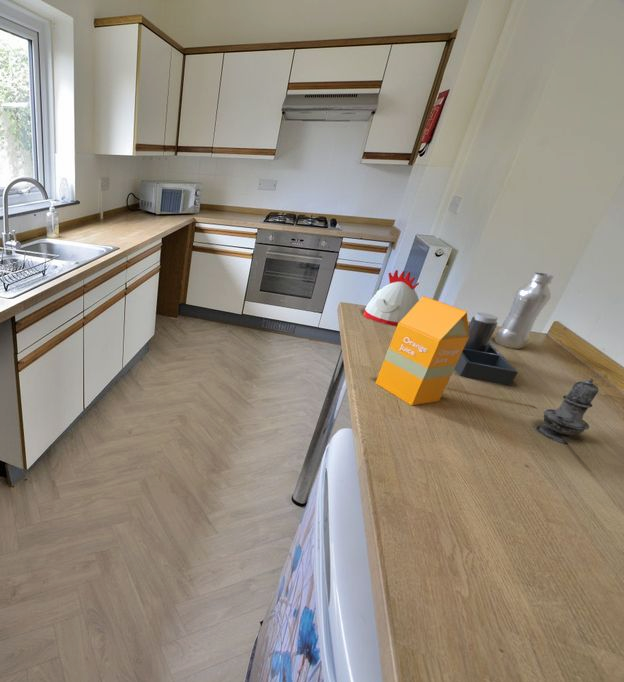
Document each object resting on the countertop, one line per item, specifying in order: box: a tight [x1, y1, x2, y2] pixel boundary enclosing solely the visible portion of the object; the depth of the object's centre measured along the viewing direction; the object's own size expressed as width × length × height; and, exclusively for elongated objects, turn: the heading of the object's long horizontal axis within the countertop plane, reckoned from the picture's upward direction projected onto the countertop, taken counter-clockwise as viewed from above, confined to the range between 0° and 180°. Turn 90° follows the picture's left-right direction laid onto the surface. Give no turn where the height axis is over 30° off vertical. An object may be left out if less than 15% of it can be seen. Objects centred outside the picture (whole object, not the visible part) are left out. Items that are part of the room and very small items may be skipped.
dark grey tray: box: [454, 341, 519, 387], centre depth 98 cm, size 9×17×4 cm, turn 156°
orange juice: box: [375, 295, 469, 406], centre depth 82 cm, size 8×9×20 cm
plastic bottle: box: [494, 272, 554, 350], centre depth 106 cm, size 6×7×20 cm
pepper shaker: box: [464, 312, 499, 352], centre depth 99 cm, size 5×5×11 cm
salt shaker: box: [536, 378, 599, 445], centre depth 72 cm, size 6×6×12 cm
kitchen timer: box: [363, 269, 420, 327], centre depth 122 cm, size 14×14×15 cm
